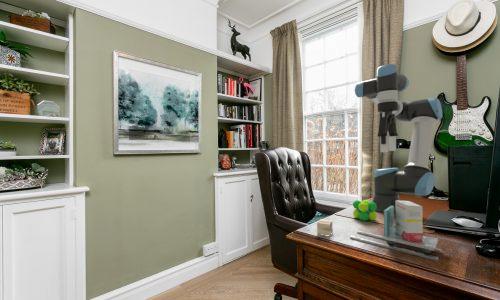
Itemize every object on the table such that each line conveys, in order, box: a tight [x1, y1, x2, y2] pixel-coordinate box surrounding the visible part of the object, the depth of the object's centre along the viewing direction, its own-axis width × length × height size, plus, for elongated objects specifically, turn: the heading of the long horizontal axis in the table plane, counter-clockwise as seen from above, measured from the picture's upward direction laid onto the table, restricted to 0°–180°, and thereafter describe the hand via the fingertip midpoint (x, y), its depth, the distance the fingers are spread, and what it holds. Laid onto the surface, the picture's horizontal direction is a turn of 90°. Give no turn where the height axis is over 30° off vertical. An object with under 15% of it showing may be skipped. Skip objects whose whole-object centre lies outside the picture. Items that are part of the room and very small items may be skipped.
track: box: [349, 230, 442, 262], centre depth 85 cm, size 9×27×1 cm, turn 45°
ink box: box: [394, 200, 424, 241], centre depth 82 cm, size 9×5×12 cm, turn 173°
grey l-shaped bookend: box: [383, 206, 439, 255], centre depth 81 cm, size 10×14×12 cm
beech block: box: [316, 218, 334, 237], centre depth 97 cm, size 5×5×5 cm
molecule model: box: [352, 199, 378, 222], centre depth 116 cm, size 9×9×9 cm
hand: (388, 151), depth 102 cm, fingers open, 13 cm apart
